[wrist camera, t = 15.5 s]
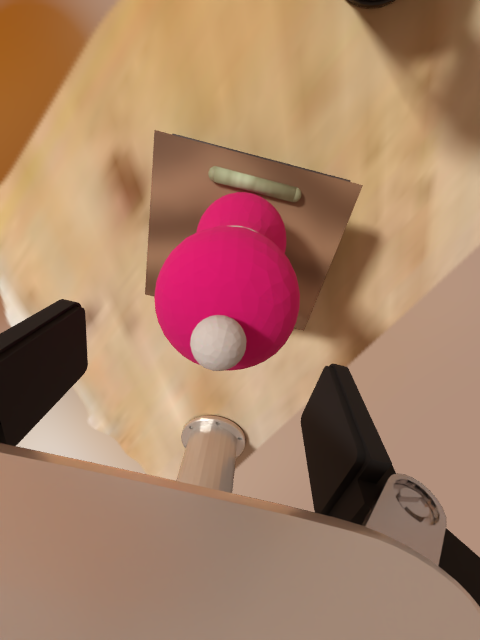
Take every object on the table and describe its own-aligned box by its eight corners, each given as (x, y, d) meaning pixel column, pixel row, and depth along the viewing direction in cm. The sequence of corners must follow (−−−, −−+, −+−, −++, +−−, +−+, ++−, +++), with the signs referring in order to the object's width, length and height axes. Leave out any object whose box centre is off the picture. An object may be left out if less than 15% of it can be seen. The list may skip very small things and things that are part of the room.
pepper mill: (283, 187, 23) (365, 223, 6) (280, 268, 27) (328, 444, 9) (201, 191, 24) (48, 234, 6) (209, 269, 27) (124, 440, 10)
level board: (301, 323, 31) (305, 335, 29) (149, 289, 30) (141, 297, 28) (356, 184, 24) (366, 185, 22) (160, 132, 23) (150, 128, 21)
